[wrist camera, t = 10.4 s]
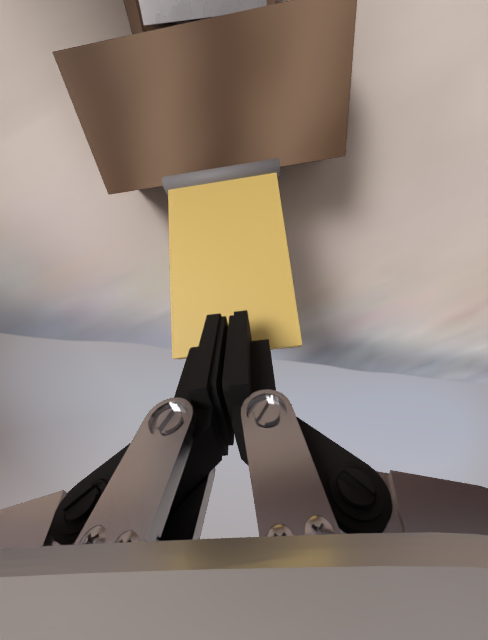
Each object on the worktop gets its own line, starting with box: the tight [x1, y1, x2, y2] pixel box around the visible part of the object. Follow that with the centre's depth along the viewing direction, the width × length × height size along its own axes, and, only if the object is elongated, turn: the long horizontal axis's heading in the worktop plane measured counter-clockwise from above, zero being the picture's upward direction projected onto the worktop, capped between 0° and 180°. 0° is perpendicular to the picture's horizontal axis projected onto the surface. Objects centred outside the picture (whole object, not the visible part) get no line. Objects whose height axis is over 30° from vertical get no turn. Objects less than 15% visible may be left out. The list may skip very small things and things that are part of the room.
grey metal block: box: [139, 0, 267, 31], centre depth 15 cm, size 11×6×4 cm, turn 5°
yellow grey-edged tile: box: [162, 158, 302, 359], centre depth 12 cm, size 6×10×1 cm
